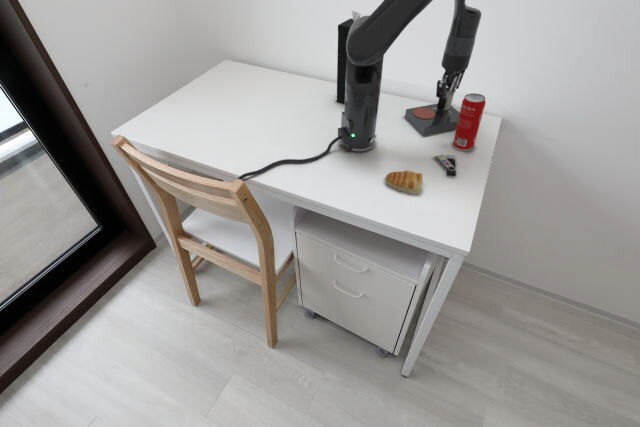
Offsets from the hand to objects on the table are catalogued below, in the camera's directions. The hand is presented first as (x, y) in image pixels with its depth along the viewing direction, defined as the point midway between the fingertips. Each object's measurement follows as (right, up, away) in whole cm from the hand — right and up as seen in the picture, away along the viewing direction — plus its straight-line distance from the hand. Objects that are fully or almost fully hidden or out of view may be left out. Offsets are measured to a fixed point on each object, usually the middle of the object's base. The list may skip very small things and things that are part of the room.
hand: (444, 105), depth 109 cm
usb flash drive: (-6, -22, -17) cm, 28 cm away
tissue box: (-29, +5, +11) cm, 31 cm away
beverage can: (+1, -15, -10) cm, 18 cm away
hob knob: (0, 0, 0) cm, 0 cm away
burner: (-7, -3, -2) cm, 8 cm away
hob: (-3, -6, 0) cm, 6 cm away
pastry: (-18, -28, -22) cm, 40 cm away
